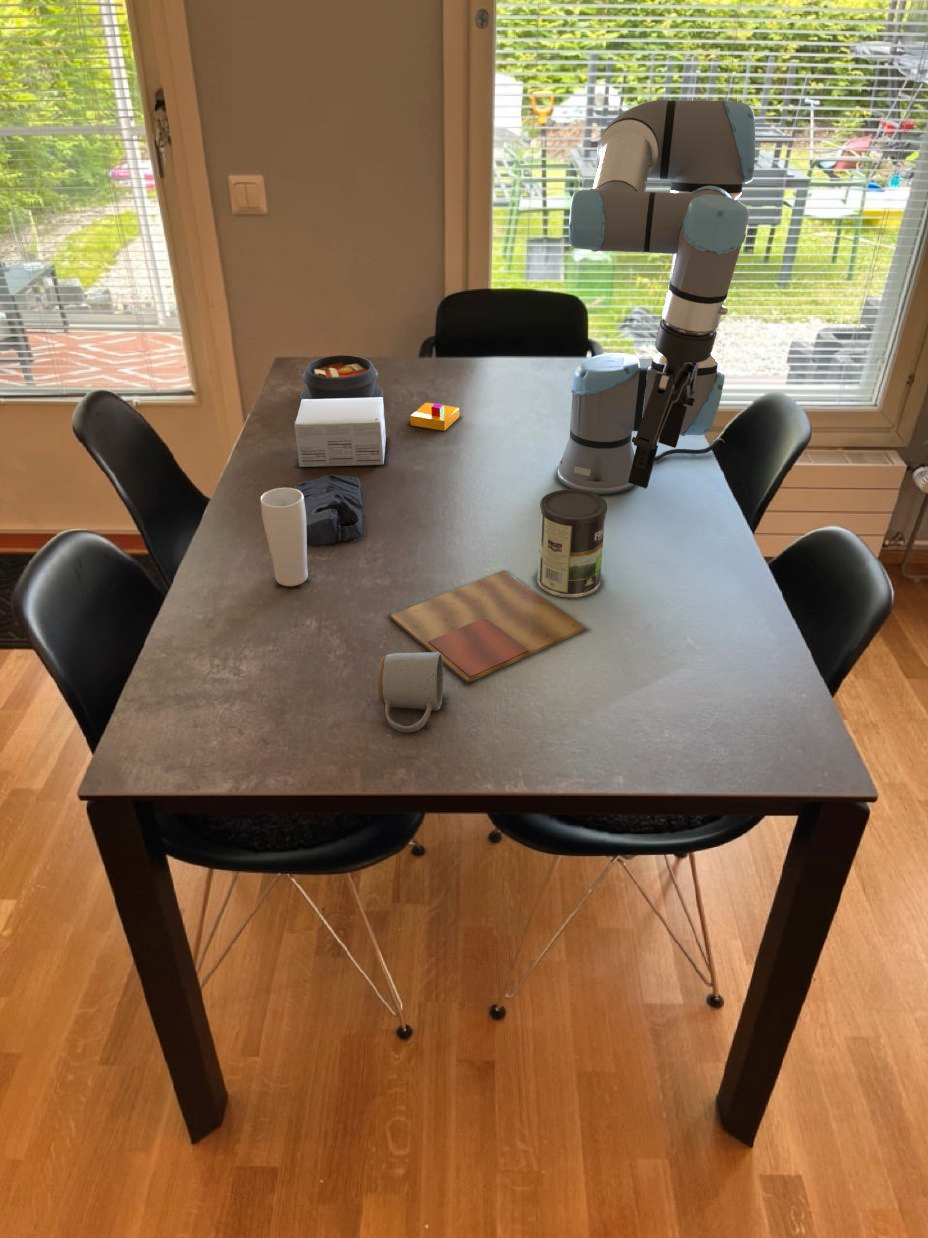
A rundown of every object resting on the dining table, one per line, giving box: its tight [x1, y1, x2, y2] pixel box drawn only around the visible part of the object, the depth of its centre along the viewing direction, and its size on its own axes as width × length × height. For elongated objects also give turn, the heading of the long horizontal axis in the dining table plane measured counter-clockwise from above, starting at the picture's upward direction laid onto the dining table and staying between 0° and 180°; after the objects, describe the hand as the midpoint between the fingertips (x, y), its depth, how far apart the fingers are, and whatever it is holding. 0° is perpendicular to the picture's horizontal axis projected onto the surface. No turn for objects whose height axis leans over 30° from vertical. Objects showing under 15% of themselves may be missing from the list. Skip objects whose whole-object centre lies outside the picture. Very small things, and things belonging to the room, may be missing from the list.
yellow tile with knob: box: [410, 402, 460, 432], centre depth 209 cm, size 8×8×4 cm
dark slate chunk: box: [293, 473, 364, 546], centre depth 175 cm, size 15×22×5 cm
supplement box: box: [294, 396, 387, 468], centre depth 195 cm, size 17×13×9 cm
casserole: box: [299, 354, 384, 400], centre depth 217 cm, size 25×19×8 cm
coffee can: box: [536, 488, 608, 599], centre depth 153 cm, size 10×10×14 cm
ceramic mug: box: [377, 651, 444, 733], centre depth 129 cm, size 11×8×8 cm
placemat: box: [390, 570, 586, 684], centre depth 147 cm, size 22×20×1 cm
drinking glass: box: [259, 487, 309, 587], centre depth 154 cm, size 7×7×15 cm
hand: (652, 463), depth 141 cm, fingers open, 13 cm apart
